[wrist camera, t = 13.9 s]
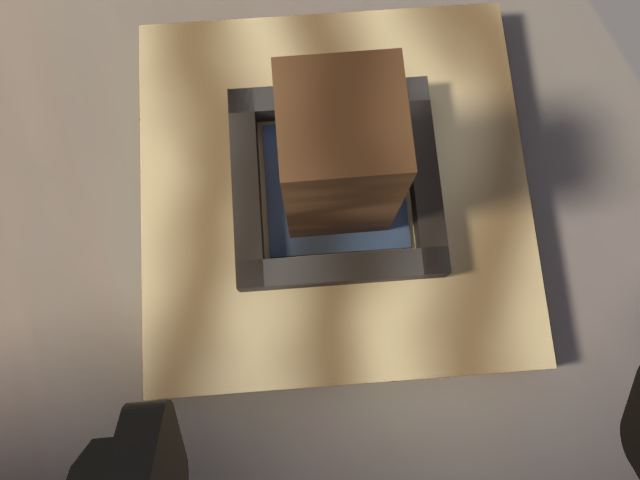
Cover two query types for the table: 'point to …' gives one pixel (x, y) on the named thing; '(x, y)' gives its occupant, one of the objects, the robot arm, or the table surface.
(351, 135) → the walnut block
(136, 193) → the table surface
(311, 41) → the base board
